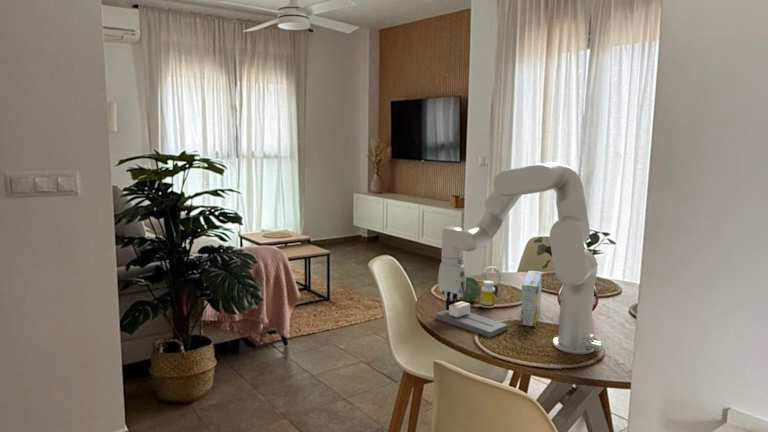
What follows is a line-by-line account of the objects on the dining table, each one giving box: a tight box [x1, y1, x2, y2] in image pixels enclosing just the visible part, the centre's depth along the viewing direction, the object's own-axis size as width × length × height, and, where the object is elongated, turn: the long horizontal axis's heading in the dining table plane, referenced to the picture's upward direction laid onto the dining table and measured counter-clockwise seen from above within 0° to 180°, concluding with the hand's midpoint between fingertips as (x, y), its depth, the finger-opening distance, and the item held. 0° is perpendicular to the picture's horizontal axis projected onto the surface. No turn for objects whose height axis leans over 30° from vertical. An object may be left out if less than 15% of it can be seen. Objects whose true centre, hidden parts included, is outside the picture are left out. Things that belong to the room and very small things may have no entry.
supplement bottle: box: [479, 280, 496, 309], centre depth 203 cm, size 5×5×10 cm
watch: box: [482, 265, 503, 294], centre depth 222 cm, size 6×8×11 cm
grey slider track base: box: [435, 309, 509, 338], centre depth 184 cm, size 24×10×2 cm, turn 43°
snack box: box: [520, 270, 543, 328], centre depth 191 cm, size 21×6×15 cm, turn 159°
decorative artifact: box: [458, 275, 481, 302], centre depth 208 cm, size 10×7×10 cm
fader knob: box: [449, 300, 471, 317], centre depth 187 cm, size 4×7×4 cm, turn 133°
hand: (450, 309), depth 190 cm, fingers closed
